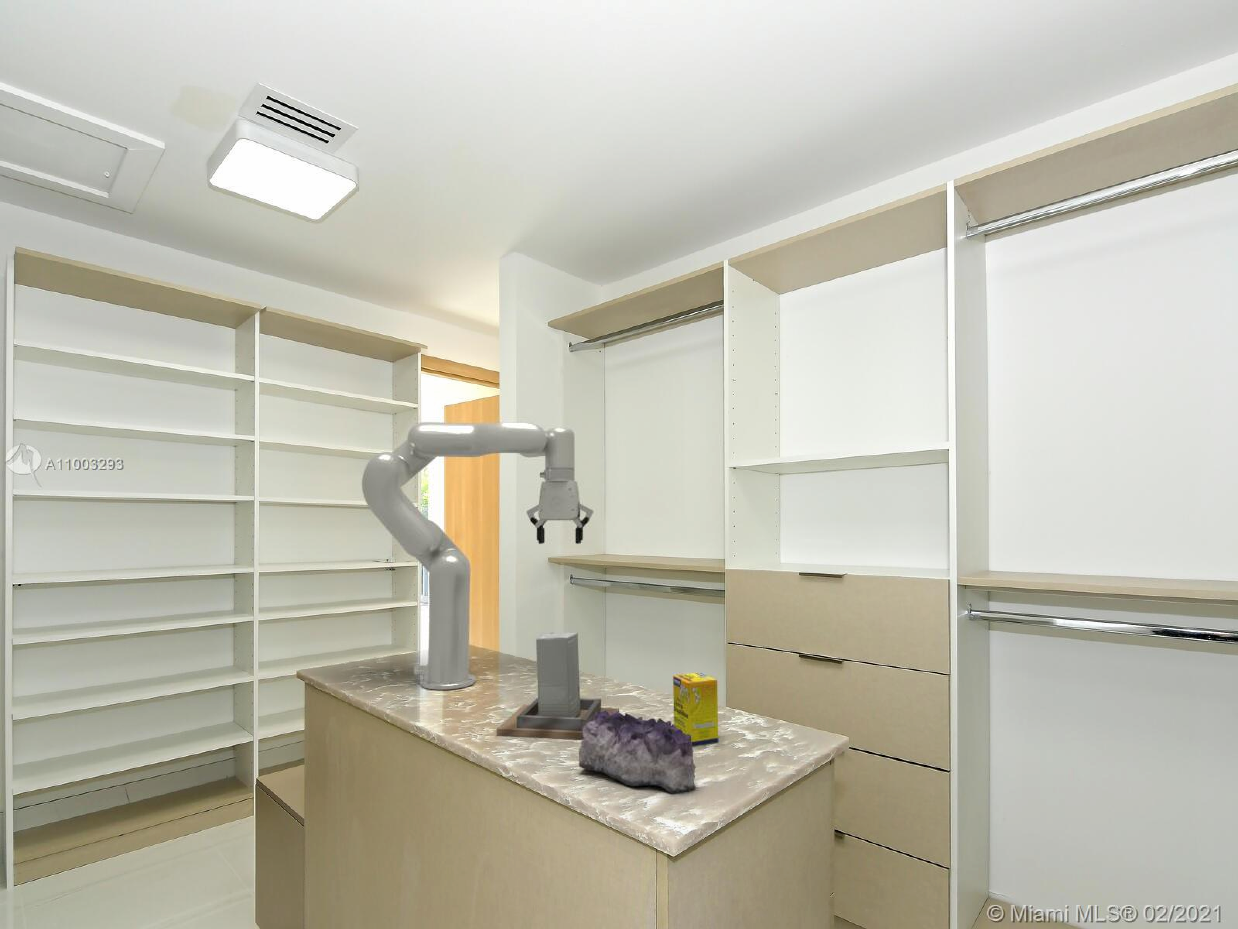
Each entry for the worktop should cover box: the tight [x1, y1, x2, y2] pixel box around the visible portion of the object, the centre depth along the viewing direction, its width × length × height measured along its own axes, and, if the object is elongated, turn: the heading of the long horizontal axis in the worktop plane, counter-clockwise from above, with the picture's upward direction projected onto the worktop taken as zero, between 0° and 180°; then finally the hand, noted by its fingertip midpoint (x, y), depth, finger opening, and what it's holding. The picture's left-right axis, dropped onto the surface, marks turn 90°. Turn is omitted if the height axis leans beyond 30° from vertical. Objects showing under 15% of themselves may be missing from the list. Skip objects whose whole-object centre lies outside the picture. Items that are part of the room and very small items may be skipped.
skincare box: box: [535, 631, 581, 718], centre depth 127 cm, size 8×7×16 cm
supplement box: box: [672, 672, 719, 748], centre depth 117 cm, size 6×6×11 cm
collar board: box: [496, 697, 620, 741], centre depth 126 cm, size 20×16×3 cm
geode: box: [578, 711, 697, 795], centre depth 101 cm, size 20×12×10 cm, turn 54°
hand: (559, 543), depth 166 cm, fingers open, 9 cm apart
